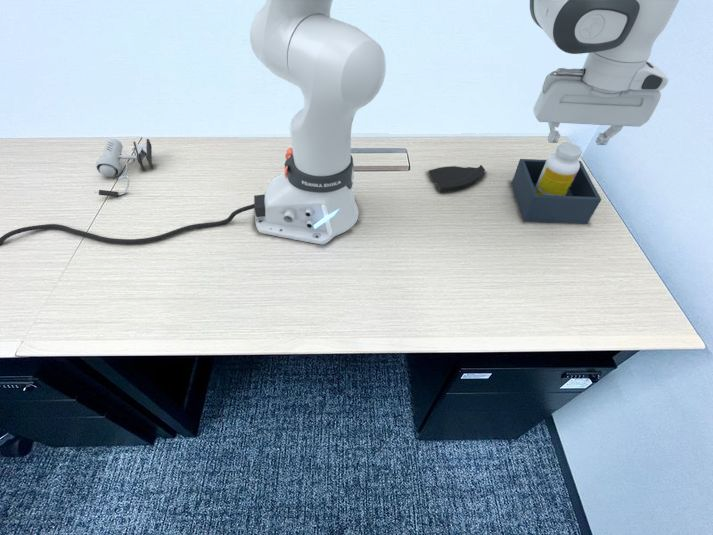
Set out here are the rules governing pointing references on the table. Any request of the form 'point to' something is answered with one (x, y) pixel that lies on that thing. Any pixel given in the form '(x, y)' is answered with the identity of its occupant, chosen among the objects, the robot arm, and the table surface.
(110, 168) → the clip-on lamp
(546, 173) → the supplement bottle
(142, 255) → the table surface
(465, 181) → the curved wedge
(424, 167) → the table surface
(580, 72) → the robot arm
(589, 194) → the tub
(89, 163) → the table surface
